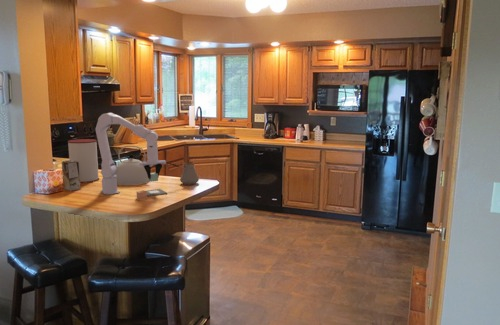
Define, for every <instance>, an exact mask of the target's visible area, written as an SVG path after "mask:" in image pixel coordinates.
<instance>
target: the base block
mask: <svg viewBox="0 0 500 325" xmlns="http://www.w3.org/2000/svg"><path fill="white" fill-rule="evenodd" d="M149 181H150V183H151V182H158V181H159V178H158V173H156V172H151V179H149Z"/></svg>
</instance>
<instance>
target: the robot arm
mask: <svg viewBox="0 0 500 325" xmlns="http://www.w3.org/2000/svg"><path fill="white" fill-rule="evenodd" d="M112 125H120V126H122V127H124V128H126V129H129V130H130V131H132V132H133V134H134V135H136V136H138V137H139V138H141V139H144V140H145V141H146V158H147V161H146V160H145V162H143V161H141V162H140V163H139V165H140V166H144V168H145V170H146V172H147V175H148V178H149V179H151V173H152V172H151V171H152V170H151V169H152V167H150V166H149V165H153V166H154V168H155V173H158V179H159V177H160V172H161V169H162V168H163V165H167V164H166V163H167V160H165V159H163V160H162V159H161V160H160V159H159V152H158V148H159V147H158V139H159V134H158V133H157V132H156V131H155V130H152V129H150V128H149V129H148V128H146V127H144V125H143V124H135V123H133V122H130V121H129V120H127V119H125V118H124V117H122V116H120V115H119V114H115V113H113V112H107V113H102V114H101V115H100V116H99V117H98V119H97V122H96V127H95V133H96V138H97V139H96V140H97V142H98V143H97V145H98V147H99V151H100V157H101V165H100V166H101V170H100V174H101V176H102V179H101V187H102V188H101V189H102V190H100V192H101V193H102V194H104V195H105V196H106V195H113V194H114V195H115V194H119V193H120V191H118V184H117V177H116V174H115V173H116V172H117V165H116V163H115V160H113V157H112V153H111V147H110V144H109V138H108V134H107V130H108V129H109V128H110V126H112Z"/></svg>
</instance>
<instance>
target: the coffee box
mask: <svg viewBox="0 0 500 325" xmlns="http://www.w3.org/2000/svg"><path fill="white" fill-rule="evenodd" d="M61 170H62V183H63V184H62V185H64V186H63V189H64V190H66V191H69V192H73V191H77V190H78V191H79V190H81V183H80V176H79V162H77V161H73V160H69V159H68V160H63V161H61ZM72 190H73V191H72Z"/></svg>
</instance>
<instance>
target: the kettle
mask: <svg viewBox="0 0 500 325" xmlns="http://www.w3.org/2000/svg"><path fill="white" fill-rule="evenodd" d="M126 148H136V149H140V150H141V151H142V152H143V155H144V158H143V161H142V160H140V159H135V158H134V156H135V155H134V154H133V153H131V154H129V158H128V159H125V160H122V159H121V157H120V154H121V152H122V151H123V149H126ZM117 156H118V160H119V162H120V163H119V164H118V165H116V167H117V172H116V173H115V174H116V177H117V185H118V186H138V185H144V184H147V183H151V181H149V178H148V175H147V172H146V170H145V168H144V166H140V165H139V163H140V162H146V158H147V153H146V152H145V150H144V149H143V148H142V147H140V146H136V145H124V146H123V147H121V148H120V149H119V151H118V153H117ZM149 166H150V167H151V168H152V167H153V166H154V165H149Z"/></svg>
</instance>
